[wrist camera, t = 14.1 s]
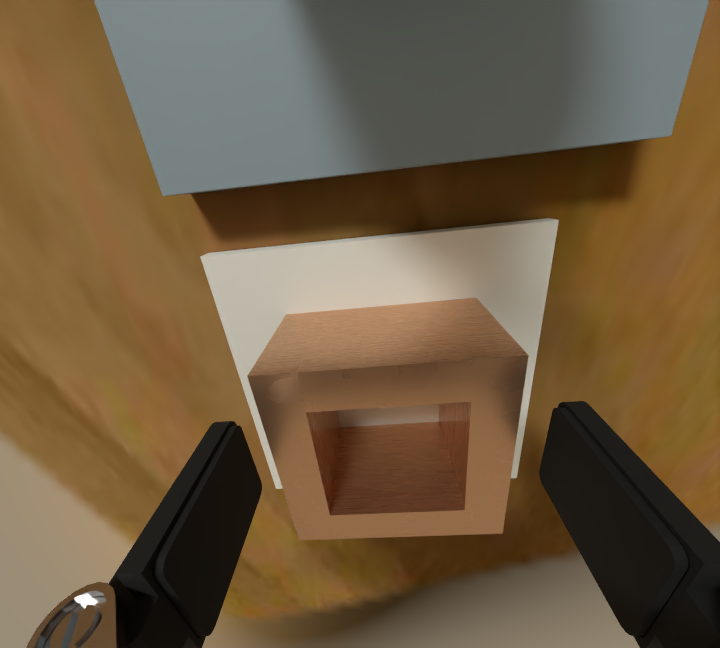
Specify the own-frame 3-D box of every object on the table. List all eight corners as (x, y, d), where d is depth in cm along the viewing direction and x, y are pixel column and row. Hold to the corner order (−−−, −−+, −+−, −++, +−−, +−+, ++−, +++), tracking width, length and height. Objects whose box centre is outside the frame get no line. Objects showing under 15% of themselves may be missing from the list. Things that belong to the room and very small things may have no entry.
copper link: (476, 297, 11) (528, 355, 7) (467, 441, 14) (502, 533, 10) (286, 314, 11) (247, 376, 8) (317, 449, 14) (299, 540, 11)
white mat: (548, 217, 10) (558, 219, 10) (511, 467, 15) (516, 478, 15) (208, 253, 11) (200, 256, 11) (279, 478, 16) (276, 488, 16)
